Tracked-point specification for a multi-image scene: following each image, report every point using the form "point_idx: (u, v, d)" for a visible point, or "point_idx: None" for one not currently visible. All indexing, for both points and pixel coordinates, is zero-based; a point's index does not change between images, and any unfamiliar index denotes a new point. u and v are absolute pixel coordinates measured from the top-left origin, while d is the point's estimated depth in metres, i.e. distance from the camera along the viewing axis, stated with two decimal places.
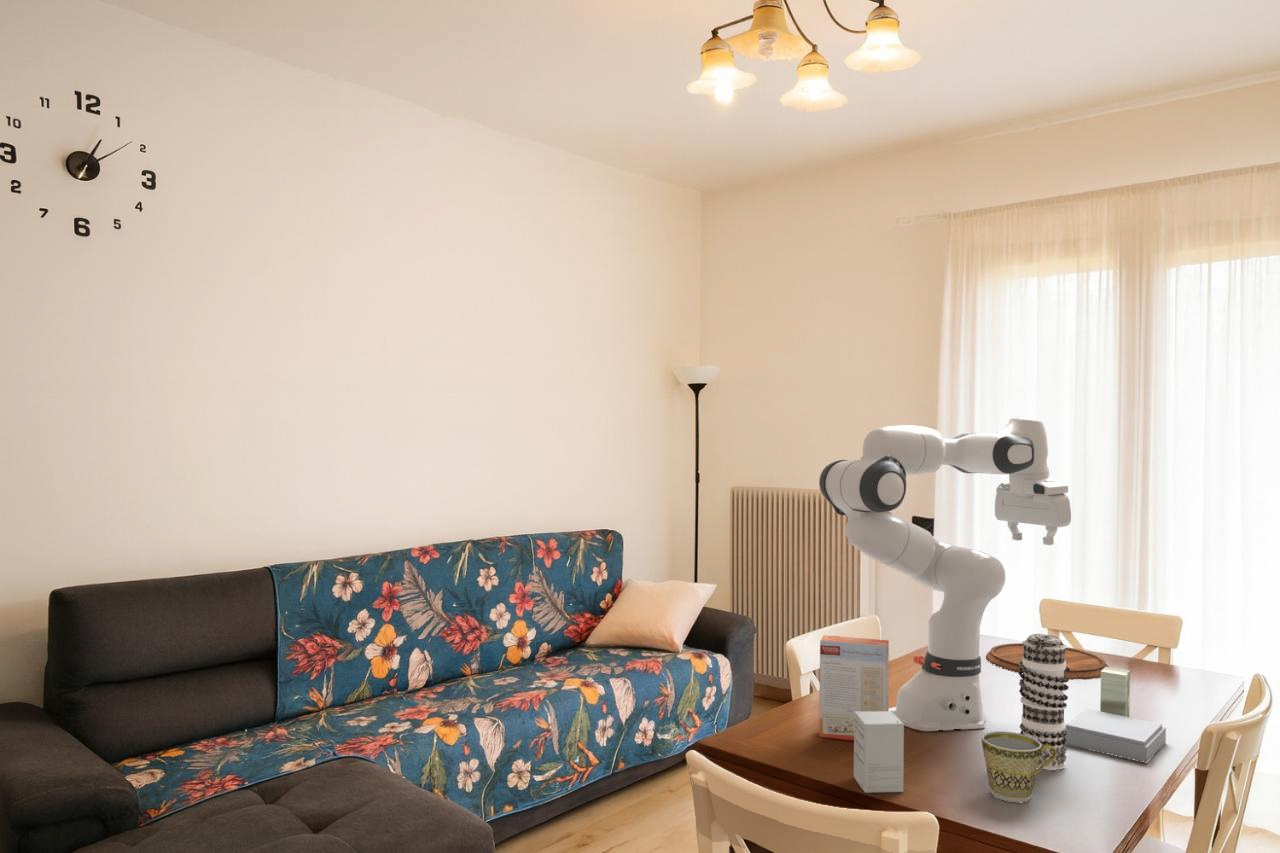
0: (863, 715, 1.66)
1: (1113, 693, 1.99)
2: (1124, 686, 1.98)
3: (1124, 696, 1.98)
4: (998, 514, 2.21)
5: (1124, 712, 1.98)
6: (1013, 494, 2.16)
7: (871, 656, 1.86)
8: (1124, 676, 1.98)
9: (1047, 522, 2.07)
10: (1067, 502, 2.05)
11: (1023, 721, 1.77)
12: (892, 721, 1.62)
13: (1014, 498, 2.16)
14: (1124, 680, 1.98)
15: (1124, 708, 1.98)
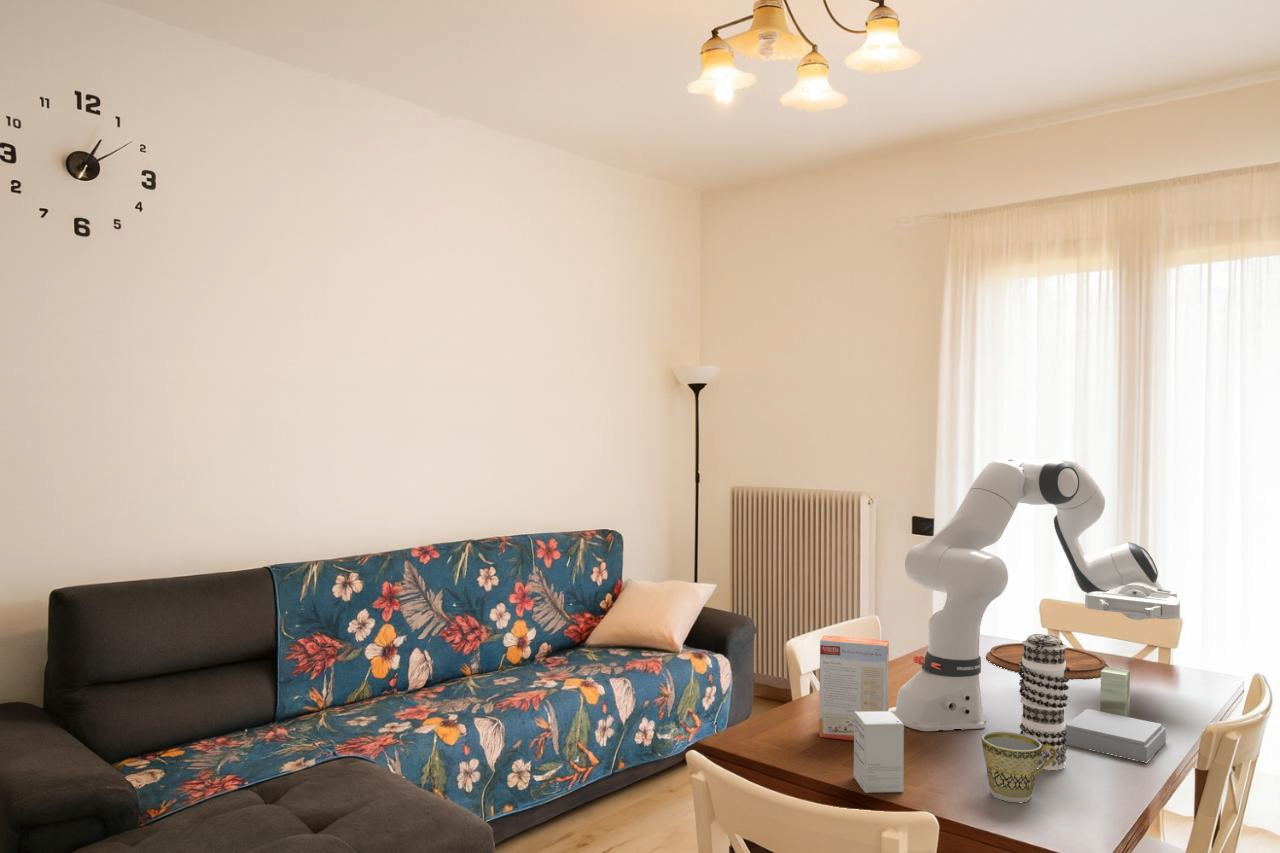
0: (863, 715, 1.66)
1: (1112, 693, 1.99)
2: (1124, 686, 1.98)
3: (1124, 696, 1.98)
4: (1092, 593, 2.21)
5: (1124, 712, 1.98)
6: (1119, 593, 2.22)
7: (871, 656, 1.86)
8: (1124, 676, 1.98)
9: (1161, 602, 2.11)
10: None
11: (1023, 721, 1.77)
12: (892, 721, 1.62)
13: (1120, 594, 2.21)
14: (1124, 680, 1.98)
15: (1124, 708, 1.98)
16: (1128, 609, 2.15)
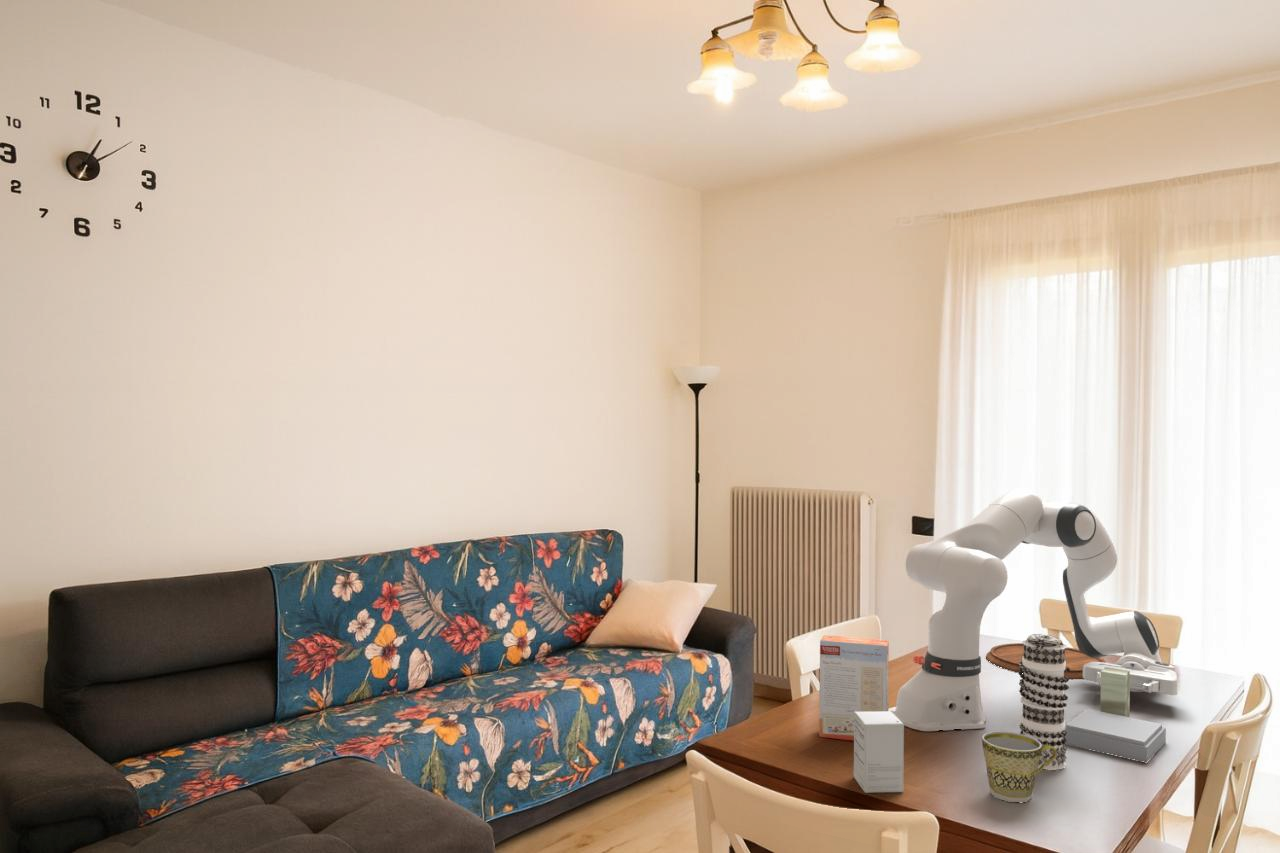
0: (863, 715, 1.66)
1: (1112, 693, 1.99)
2: (1124, 686, 1.98)
3: (1124, 696, 1.98)
4: (1090, 665, 2.20)
5: (1124, 712, 1.98)
6: (1117, 664, 2.21)
7: (871, 656, 1.86)
8: (1124, 676, 1.98)
9: (1159, 677, 2.10)
10: None
11: (1023, 721, 1.77)
12: (892, 721, 1.62)
13: (1118, 665, 2.20)
14: (1124, 680, 1.98)
15: (1124, 708, 1.98)
16: None
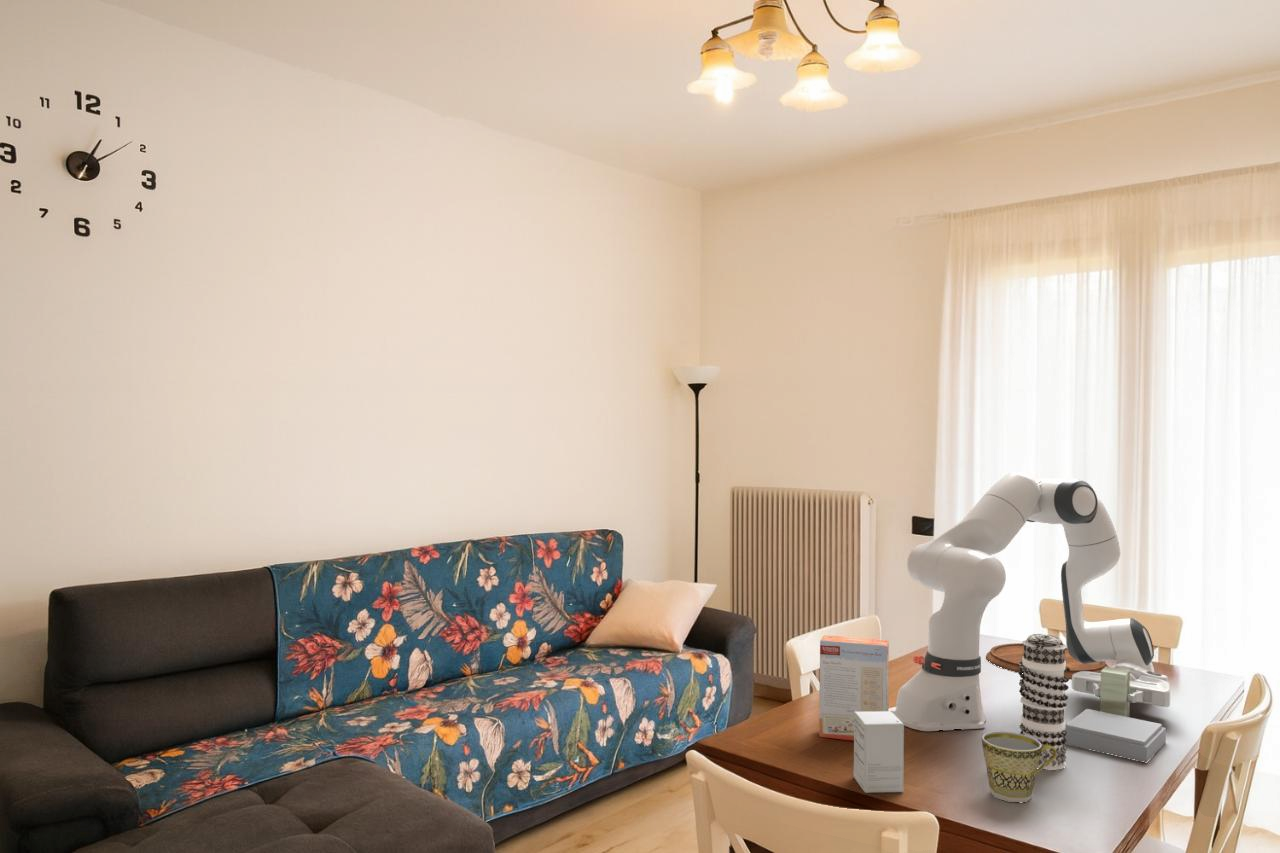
0: (863, 715, 1.66)
1: (1112, 693, 1.99)
2: (1124, 686, 1.98)
3: (1124, 696, 1.98)
4: (1079, 675, 2.10)
5: (1124, 712, 1.98)
6: None
7: (871, 656, 1.86)
8: (1124, 676, 1.98)
9: (1151, 688, 2.01)
10: None
11: (1023, 721, 1.77)
12: (892, 721, 1.62)
13: None
14: (1124, 680, 1.98)
15: (1124, 708, 1.98)
16: None
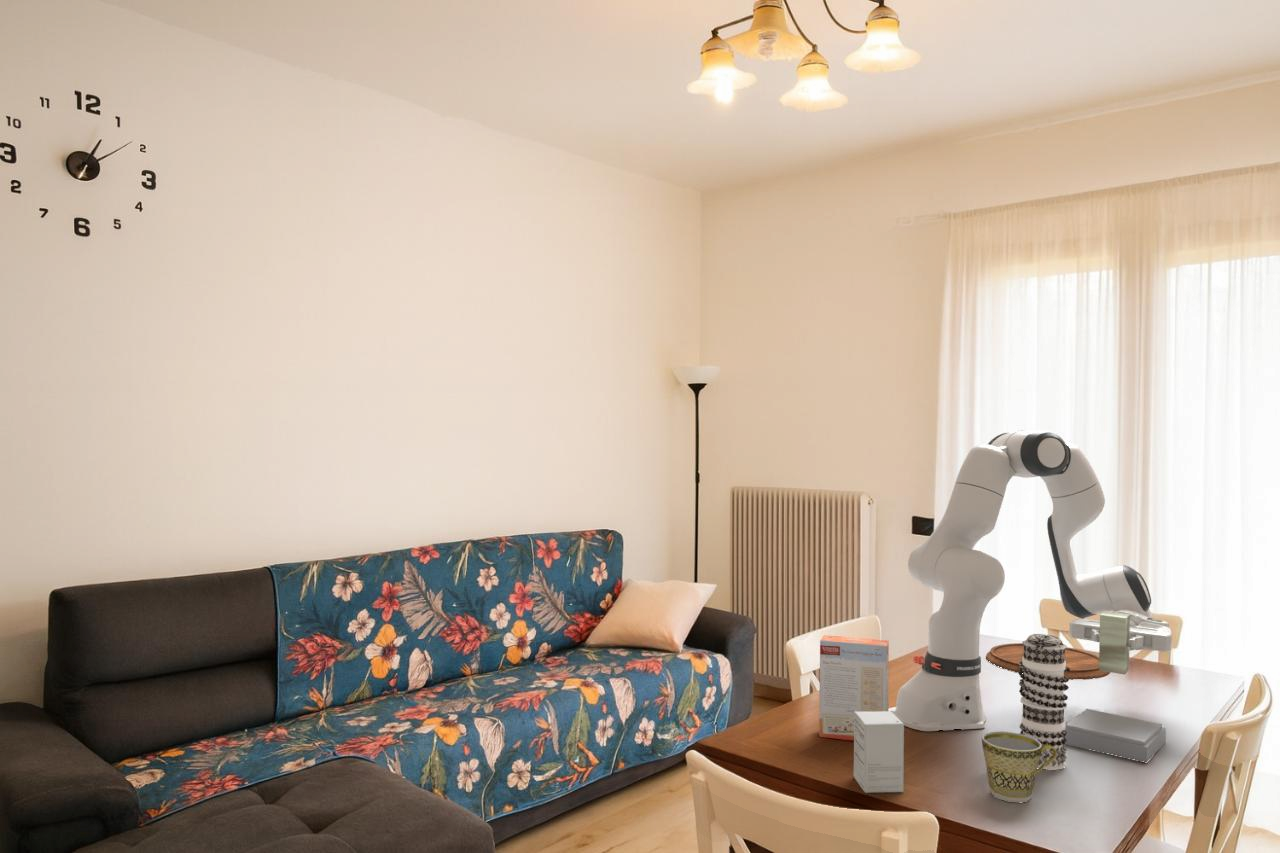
0: (863, 715, 1.66)
1: (1112, 637, 1.91)
2: (1124, 629, 1.90)
3: (1124, 640, 1.90)
4: (1077, 621, 2.03)
5: (1124, 656, 1.90)
6: None
7: (871, 656, 1.86)
8: (1124, 619, 1.90)
9: (1152, 632, 1.93)
10: None
11: (1023, 721, 1.77)
12: (892, 721, 1.62)
13: None
14: (1124, 623, 1.90)
15: (1124, 652, 1.90)
16: None
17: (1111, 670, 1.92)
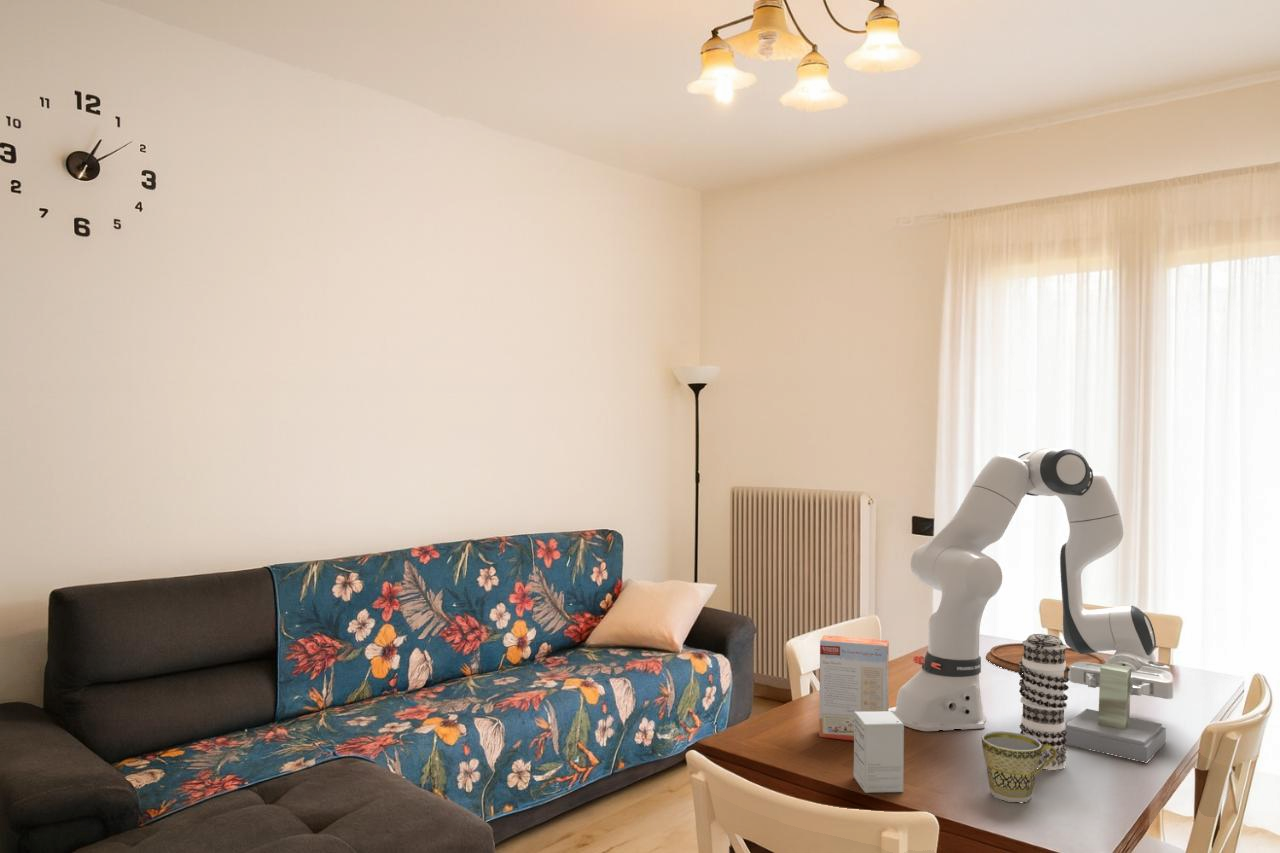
0: (863, 715, 1.66)
1: (1112, 691, 1.86)
2: (1125, 684, 1.85)
3: (1124, 694, 1.85)
4: (1076, 665, 1.98)
5: (1124, 711, 1.85)
6: None
7: (871, 656, 1.86)
8: (1125, 673, 1.85)
9: (1153, 678, 1.88)
10: None
11: (1023, 721, 1.77)
12: (892, 721, 1.62)
13: None
14: (1125, 677, 1.85)
15: (1124, 707, 1.85)
16: None
17: (1110, 725, 1.87)
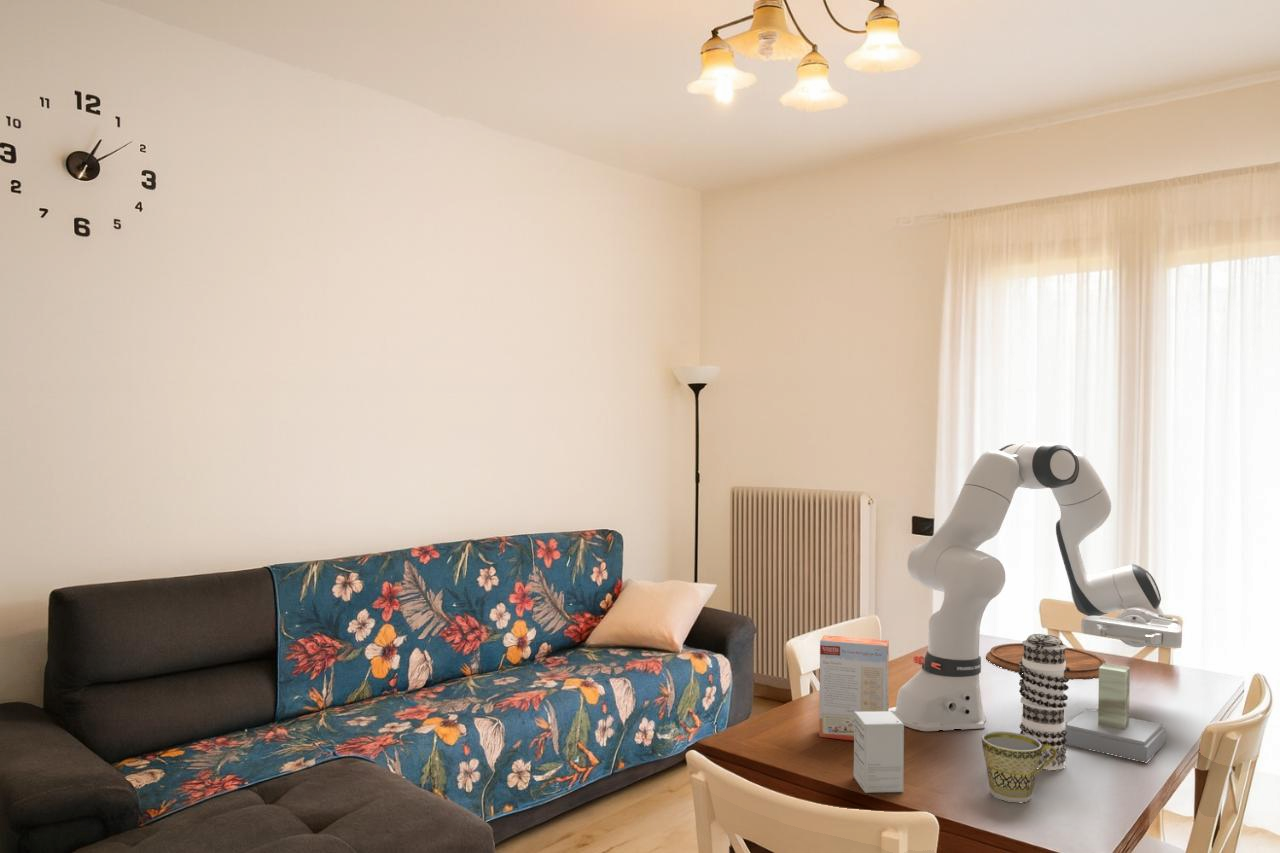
0: (863, 715, 1.66)
1: (1111, 692, 1.87)
2: (1123, 684, 1.85)
3: (1124, 694, 1.85)
4: (1089, 618, 2.08)
5: (1124, 711, 1.85)
6: (1118, 618, 2.09)
7: (871, 656, 1.86)
8: (1123, 673, 1.85)
9: (1162, 629, 1.98)
10: None
11: (1023, 721, 1.77)
12: (892, 721, 1.62)
13: (1118, 619, 2.08)
14: (1123, 677, 1.85)
15: (1124, 707, 1.85)
16: (1127, 635, 2.02)
17: (1110, 725, 1.87)
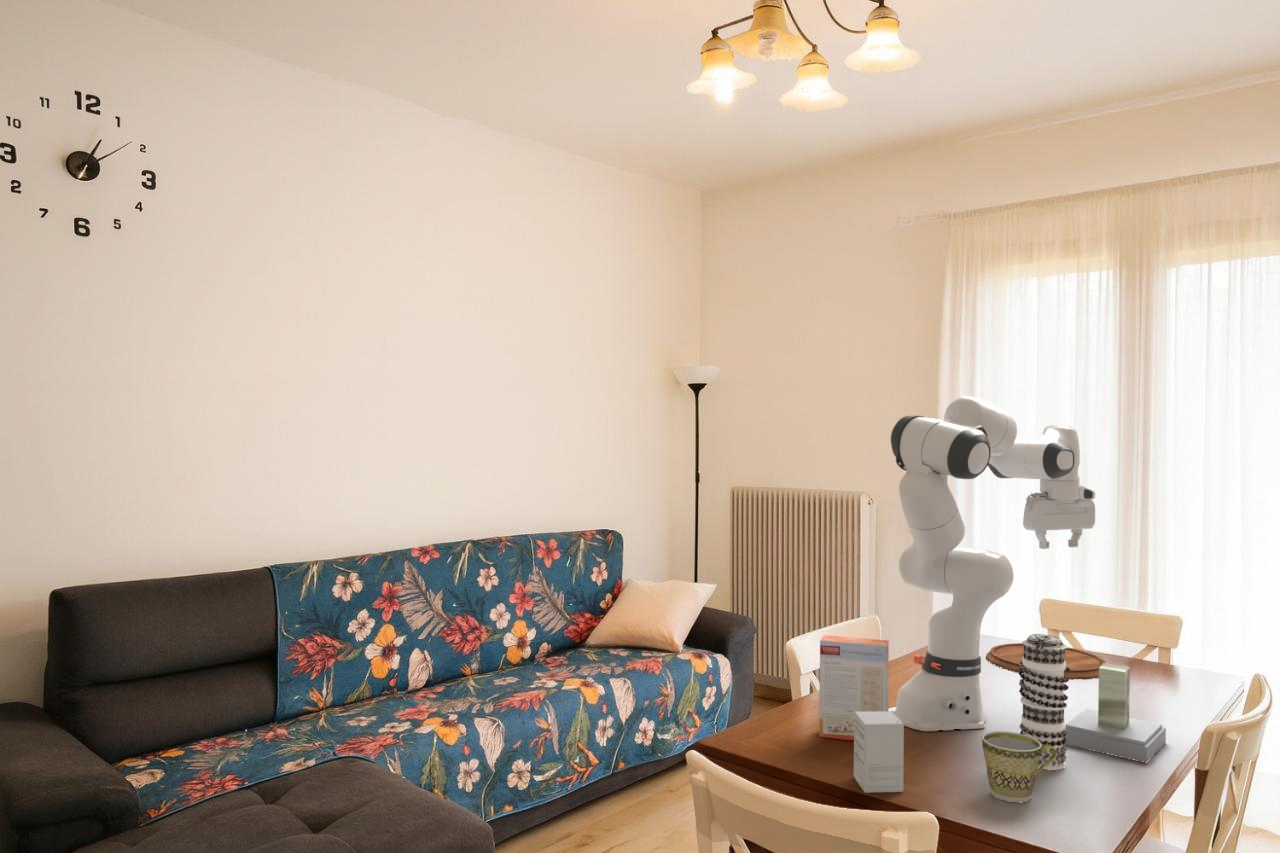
0: (863, 715, 1.66)
1: (1111, 692, 1.87)
2: (1123, 684, 1.85)
3: (1124, 694, 1.85)
4: (1038, 524, 2.15)
5: (1124, 711, 1.85)
6: (1054, 502, 2.17)
7: (871, 656, 1.86)
8: (1123, 673, 1.85)
9: (1084, 525, 2.20)
10: None
11: (1023, 721, 1.77)
12: (892, 721, 1.62)
13: (1055, 506, 2.17)
14: (1123, 677, 1.85)
15: (1124, 707, 1.85)
16: None
17: (1110, 725, 1.87)
